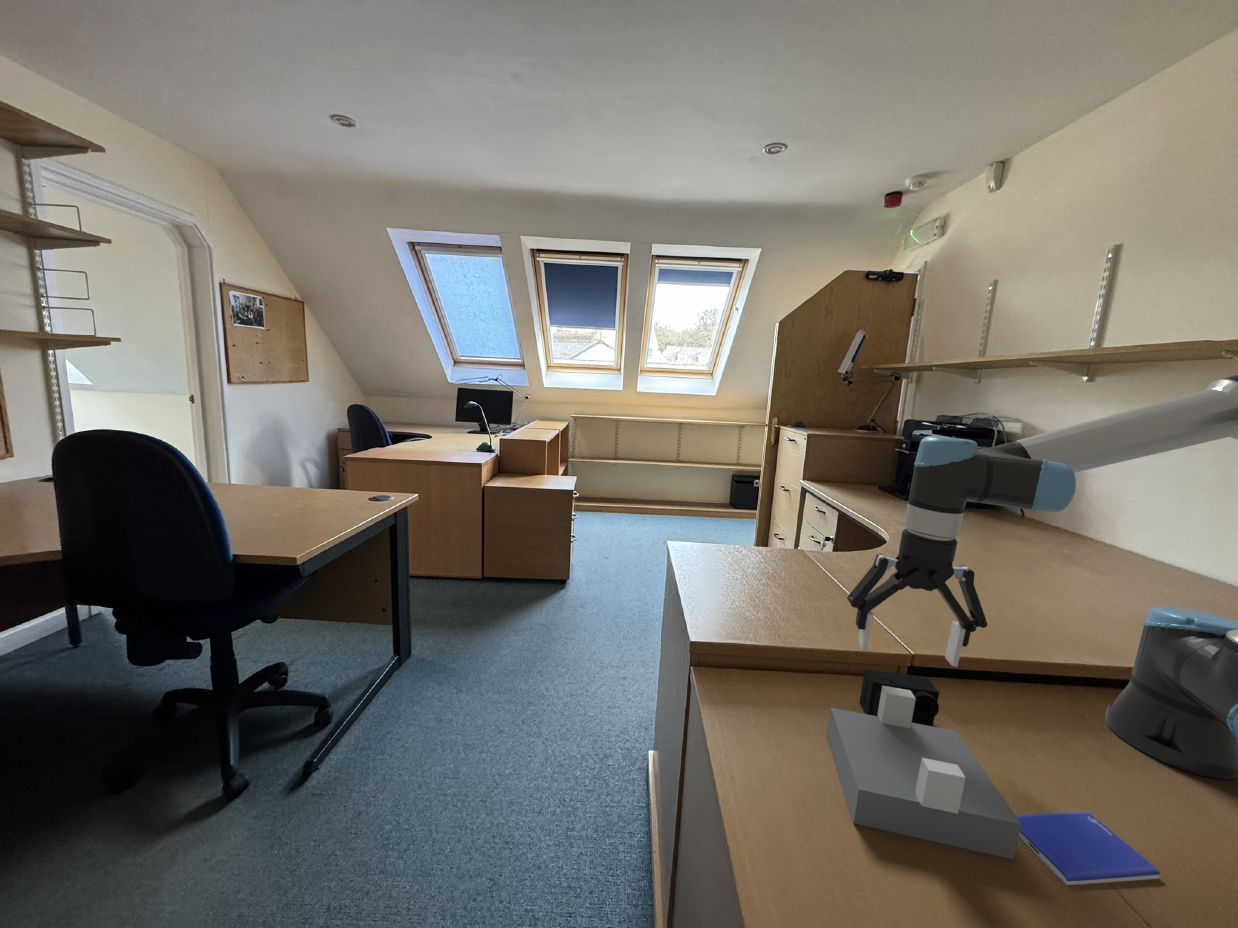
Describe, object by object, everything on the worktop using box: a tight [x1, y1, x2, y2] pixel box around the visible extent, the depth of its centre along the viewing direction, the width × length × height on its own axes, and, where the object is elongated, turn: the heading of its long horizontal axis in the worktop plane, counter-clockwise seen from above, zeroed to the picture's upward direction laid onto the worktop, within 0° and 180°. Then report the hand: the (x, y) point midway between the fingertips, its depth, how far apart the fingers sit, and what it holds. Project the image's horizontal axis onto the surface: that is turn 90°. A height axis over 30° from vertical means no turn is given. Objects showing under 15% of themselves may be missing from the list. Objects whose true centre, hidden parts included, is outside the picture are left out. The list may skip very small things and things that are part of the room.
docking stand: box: [826, 686, 1022, 860], centre depth 66 cm, size 18×17×10 cm
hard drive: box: [1015, 811, 1161, 886], centre depth 59 cm, size 2×8×12 cm
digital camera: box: [858, 668, 940, 727], centre depth 81 cm, size 10×5×7 cm, turn 80°
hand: (905, 654), depth 80 cm, fingers open, 13 cm apart
